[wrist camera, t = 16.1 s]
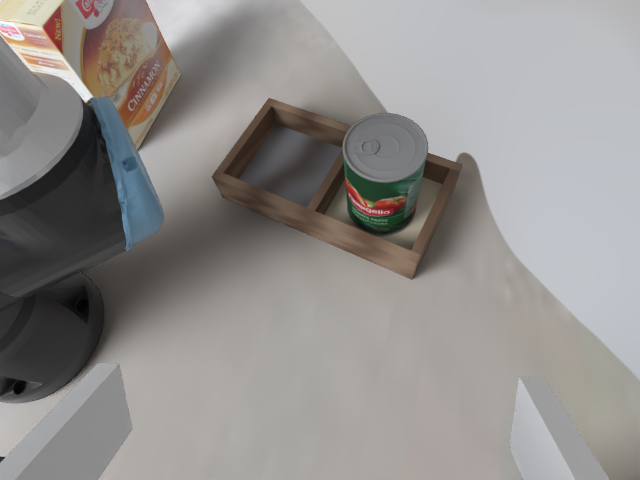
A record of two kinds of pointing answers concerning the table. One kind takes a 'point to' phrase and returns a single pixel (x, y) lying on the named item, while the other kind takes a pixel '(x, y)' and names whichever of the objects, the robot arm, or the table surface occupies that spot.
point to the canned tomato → (383, 172)
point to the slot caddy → (324, 185)
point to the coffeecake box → (97, 52)
